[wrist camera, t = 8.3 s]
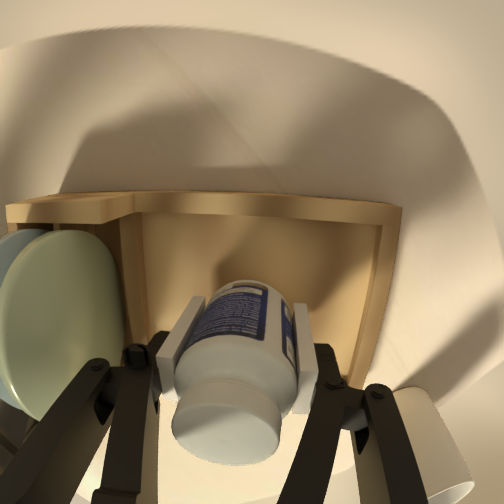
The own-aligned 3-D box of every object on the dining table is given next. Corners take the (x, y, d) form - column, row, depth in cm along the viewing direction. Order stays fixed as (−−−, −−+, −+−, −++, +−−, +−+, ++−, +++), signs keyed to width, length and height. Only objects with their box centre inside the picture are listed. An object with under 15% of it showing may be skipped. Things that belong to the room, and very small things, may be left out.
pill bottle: (192, 323, 19) (134, 434, 9) (236, 260, 17) (191, 361, 8) (259, 364, 19) (245, 485, 10) (309, 308, 18) (331, 432, 8)
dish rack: (83, 352, 24) (50, 388, 18) (57, 193, 19) (5, 204, 14) (353, 384, 22) (368, 435, 16) (390, 203, 18) (433, 219, 12)
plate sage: (122, 356, 22) (49, 458, 10) (102, 213, 18) (-37, 266, 7) (134, 359, 22) (63, 466, 10) (116, 213, 18) (-25, 269, 7)
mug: (376, 388, 22) (414, 499, 10) (438, 379, 21) (490, 470, 10) (353, 451, 25) (369, 541, 13) (407, 442, 24) (434, 523, 13)
